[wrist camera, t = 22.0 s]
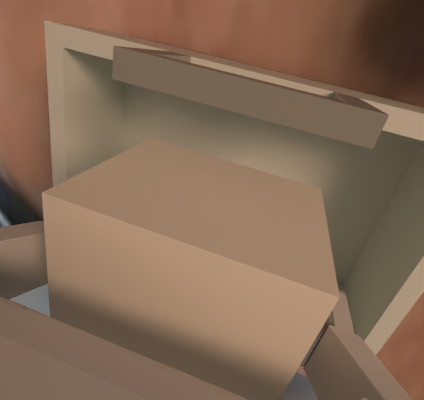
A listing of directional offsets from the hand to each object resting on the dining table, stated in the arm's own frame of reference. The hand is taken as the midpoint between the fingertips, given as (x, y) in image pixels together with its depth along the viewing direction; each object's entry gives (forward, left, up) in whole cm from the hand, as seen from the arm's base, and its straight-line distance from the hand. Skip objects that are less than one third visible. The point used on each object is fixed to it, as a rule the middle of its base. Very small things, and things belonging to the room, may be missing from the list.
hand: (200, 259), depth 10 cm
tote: (0, 0, -10) cm, 10 cm away
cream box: (0, 0, -2) cm, 2 cm away
